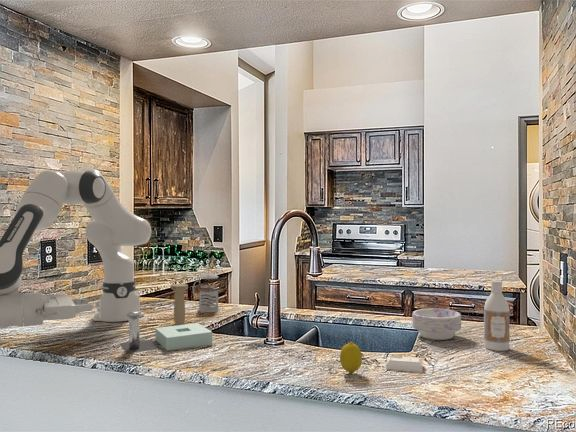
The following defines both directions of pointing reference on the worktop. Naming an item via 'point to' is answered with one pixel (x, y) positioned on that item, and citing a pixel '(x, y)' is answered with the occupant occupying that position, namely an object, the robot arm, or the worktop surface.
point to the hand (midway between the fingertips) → (90, 304)
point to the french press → (208, 293)
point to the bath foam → (496, 319)
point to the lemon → (350, 357)
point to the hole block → (183, 336)
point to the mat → (141, 346)
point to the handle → (179, 303)
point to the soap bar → (404, 363)
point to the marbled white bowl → (436, 323)
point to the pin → (134, 329)
